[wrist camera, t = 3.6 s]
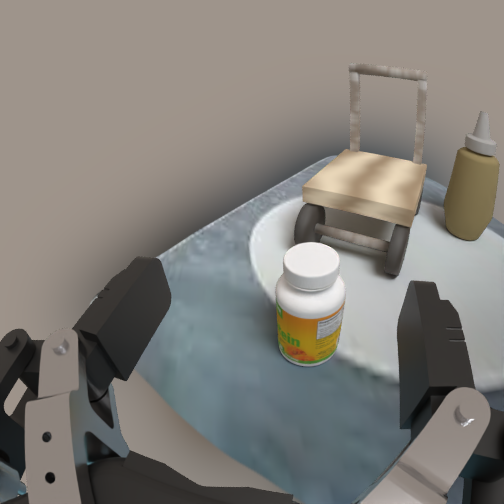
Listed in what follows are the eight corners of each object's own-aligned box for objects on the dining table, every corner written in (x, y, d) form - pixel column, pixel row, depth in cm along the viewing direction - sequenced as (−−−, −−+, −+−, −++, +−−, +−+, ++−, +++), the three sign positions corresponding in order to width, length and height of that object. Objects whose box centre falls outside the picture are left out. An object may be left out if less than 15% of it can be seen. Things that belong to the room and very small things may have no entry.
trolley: (421, 205, 46) (433, 72, 33) (396, 286, 32) (424, 76, 19) (349, 188, 52) (349, 62, 40) (293, 255, 38) (283, 67, 26)
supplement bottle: (267, 339, 28) (258, 253, 23) (313, 313, 30) (316, 228, 25) (301, 379, 24) (304, 295, 19) (349, 347, 26) (365, 261, 21)
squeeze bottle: (445, 211, 44) (460, 102, 33) (488, 228, 39) (511, 118, 28) (432, 232, 39) (451, 107, 29) (481, 253, 34) (511, 125, 24)
